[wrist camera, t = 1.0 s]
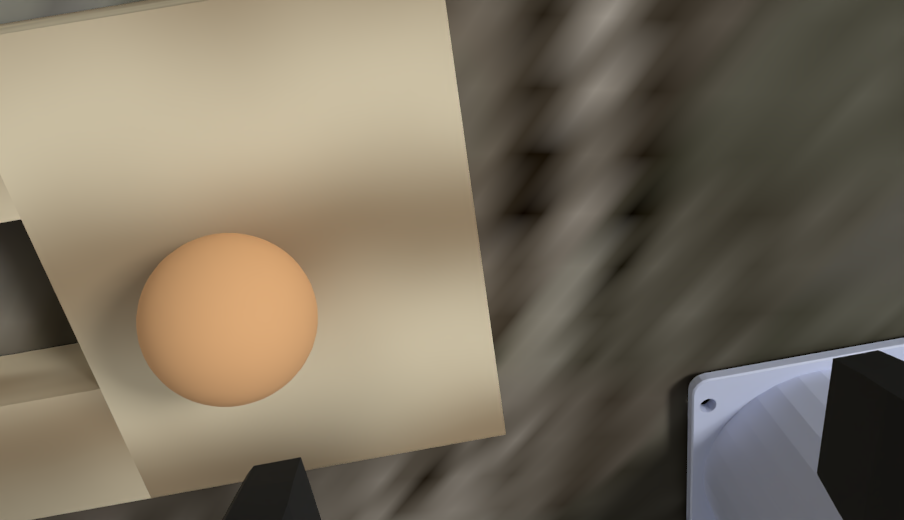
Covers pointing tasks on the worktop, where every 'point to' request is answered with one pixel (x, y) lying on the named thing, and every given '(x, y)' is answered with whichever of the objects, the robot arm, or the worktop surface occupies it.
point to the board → (245, 212)
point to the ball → (227, 319)
